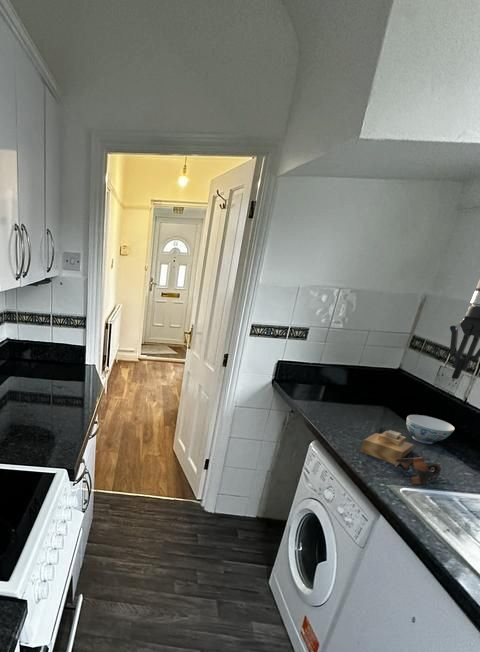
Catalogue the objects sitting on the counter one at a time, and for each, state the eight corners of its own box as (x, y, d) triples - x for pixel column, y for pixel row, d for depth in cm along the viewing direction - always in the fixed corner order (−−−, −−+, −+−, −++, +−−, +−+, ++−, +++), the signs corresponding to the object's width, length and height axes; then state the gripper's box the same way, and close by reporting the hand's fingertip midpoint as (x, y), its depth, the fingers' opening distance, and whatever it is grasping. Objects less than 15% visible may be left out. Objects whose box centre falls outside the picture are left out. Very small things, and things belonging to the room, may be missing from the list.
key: (399, 437, 146) (401, 433, 146) (396, 440, 144) (397, 435, 143) (388, 434, 149) (389, 429, 148) (384, 436, 147) (386, 432, 146)
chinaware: (398, 429, 171) (405, 411, 168) (442, 439, 165) (451, 421, 162) (401, 441, 160) (409, 423, 156) (449, 453, 153) (458, 434, 150)
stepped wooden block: (408, 457, 147) (415, 439, 144) (397, 465, 140) (405, 447, 138) (371, 445, 155) (377, 428, 153) (359, 452, 149) (365, 434, 146)
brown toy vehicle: (402, 485, 129) (399, 458, 129) (390, 483, 138) (387, 458, 139) (448, 483, 126) (445, 456, 126) (433, 481, 135) (429, 456, 135)
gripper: (514, 308, 129) (482, 381, 138) (462, 303, 138) (435, 372, 147) (509, 309, 124) (476, 384, 134) (456, 304, 133) (428, 374, 143)
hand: (455, 378), depth 140 cm, fingers closed
